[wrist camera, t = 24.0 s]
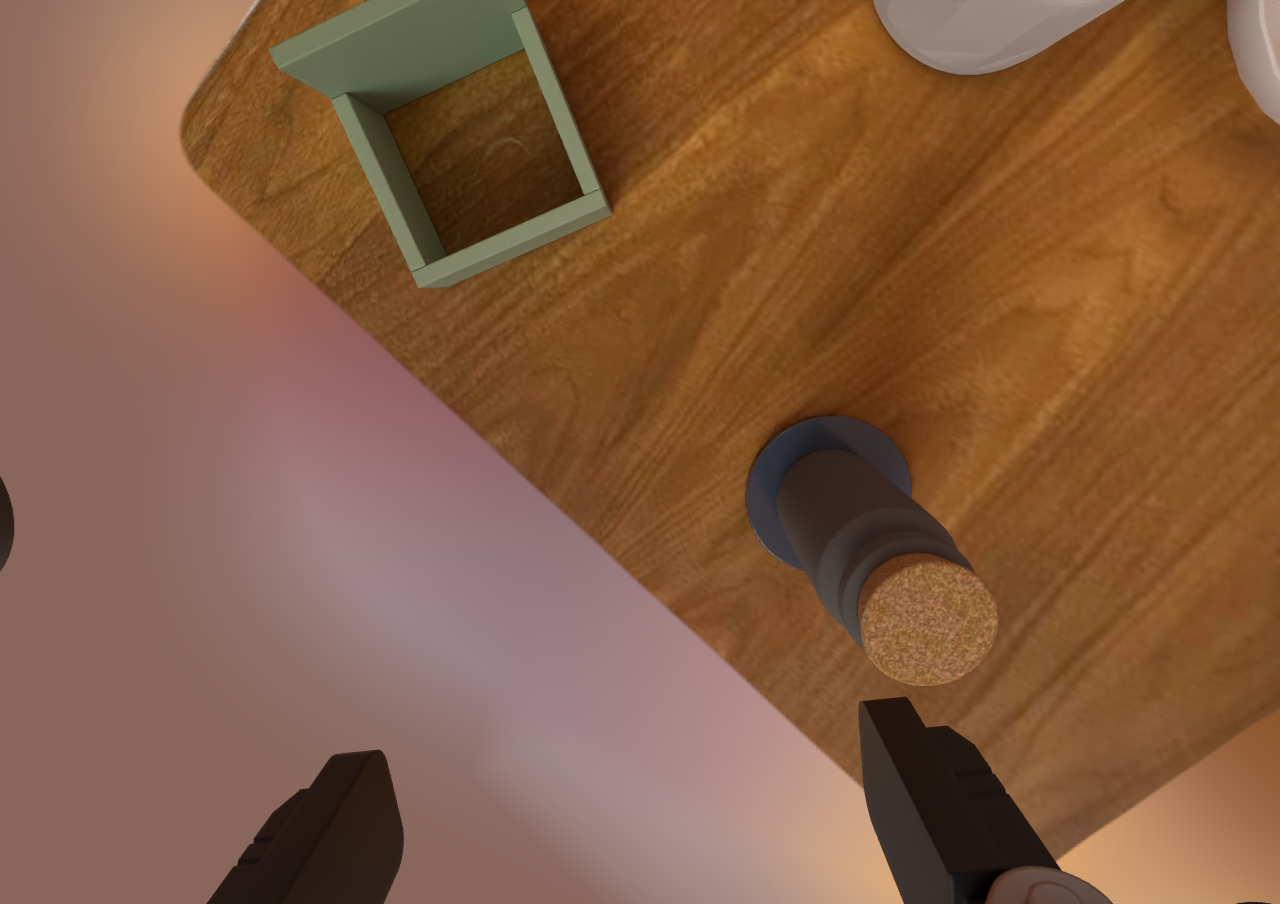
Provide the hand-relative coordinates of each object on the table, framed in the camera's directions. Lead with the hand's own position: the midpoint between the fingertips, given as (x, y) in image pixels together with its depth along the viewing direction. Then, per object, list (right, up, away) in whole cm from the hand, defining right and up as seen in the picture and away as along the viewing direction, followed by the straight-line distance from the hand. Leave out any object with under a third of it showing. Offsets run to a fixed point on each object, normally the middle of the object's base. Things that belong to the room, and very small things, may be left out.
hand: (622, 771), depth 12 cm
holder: (-7, +20, +24) cm, 32 cm away
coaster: (+11, +3, +28) cm, 30 cm away
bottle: (+11, +3, +28) cm, 30 cm away
